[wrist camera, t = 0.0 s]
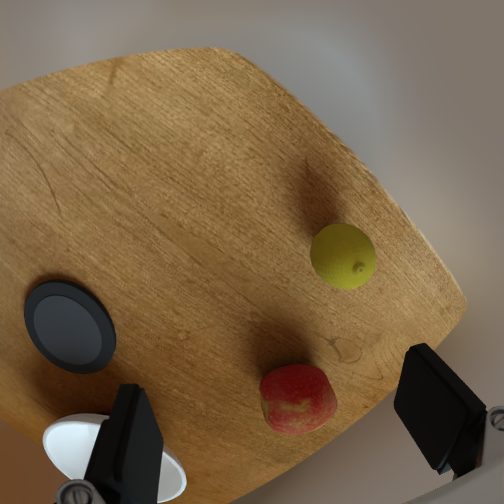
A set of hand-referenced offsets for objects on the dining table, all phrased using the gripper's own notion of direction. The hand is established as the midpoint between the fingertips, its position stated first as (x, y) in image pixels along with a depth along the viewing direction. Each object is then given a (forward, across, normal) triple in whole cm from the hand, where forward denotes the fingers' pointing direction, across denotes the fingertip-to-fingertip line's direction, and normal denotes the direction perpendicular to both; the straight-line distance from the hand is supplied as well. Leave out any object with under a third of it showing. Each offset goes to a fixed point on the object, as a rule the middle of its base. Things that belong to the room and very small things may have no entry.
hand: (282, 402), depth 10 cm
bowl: (+21, +19, +26) cm, 39 cm away
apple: (+21, -5, +17) cm, 28 cm away
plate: (+21, +20, +8) cm, 30 cm away
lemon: (+21, -9, +1) cm, 23 cm away
